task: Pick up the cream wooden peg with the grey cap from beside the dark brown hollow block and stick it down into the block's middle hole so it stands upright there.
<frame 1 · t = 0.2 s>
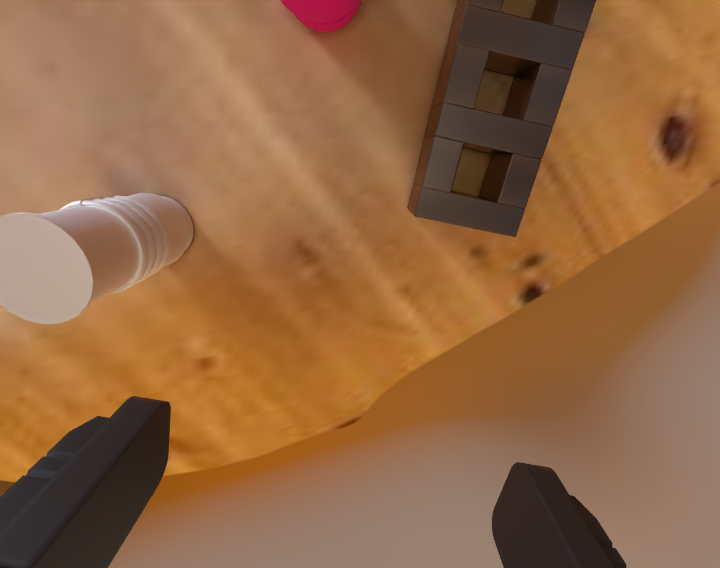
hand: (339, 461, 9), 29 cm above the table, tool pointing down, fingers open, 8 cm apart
dark brown hollow block: (485, 96, 33), on the table
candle: (163, 226, 36), on the table
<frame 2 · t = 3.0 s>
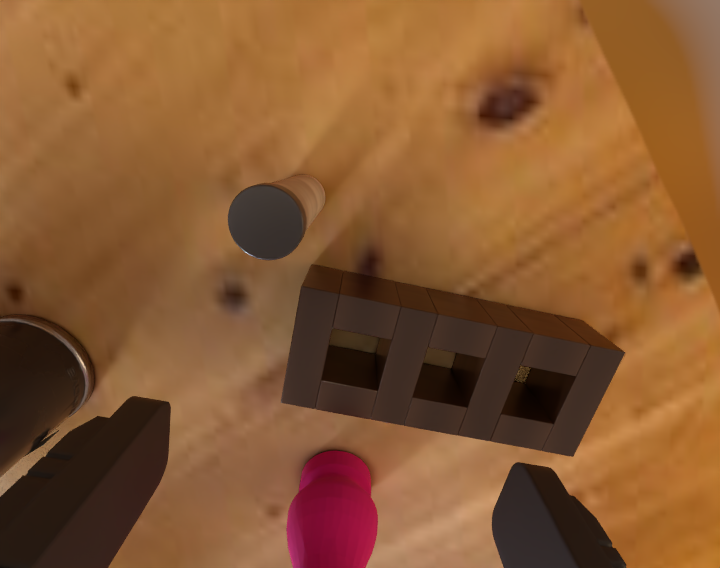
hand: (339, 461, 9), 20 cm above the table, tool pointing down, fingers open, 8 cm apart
dark brown hollow block: (434, 343, 30), on the table
peg: (303, 196, 26), on the table
pepper mill: (336, 475, 34), on the table
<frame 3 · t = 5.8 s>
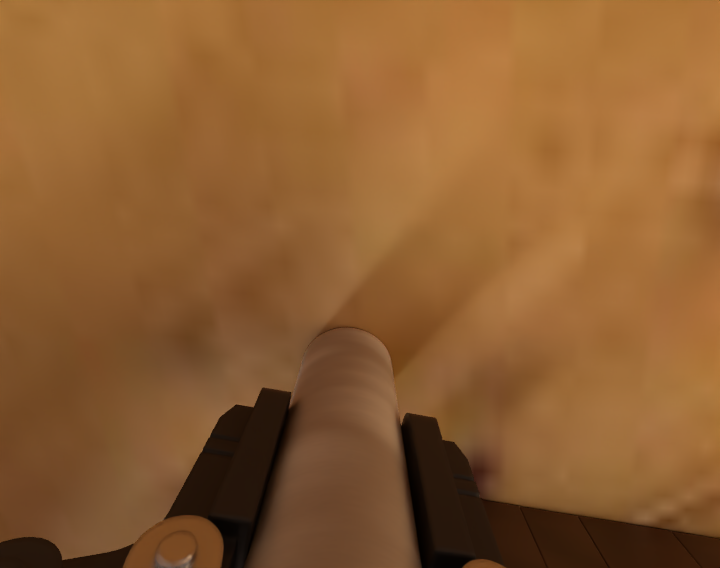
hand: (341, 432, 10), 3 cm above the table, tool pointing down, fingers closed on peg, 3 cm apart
peg: (346, 367, 13), on the table, touching gripper
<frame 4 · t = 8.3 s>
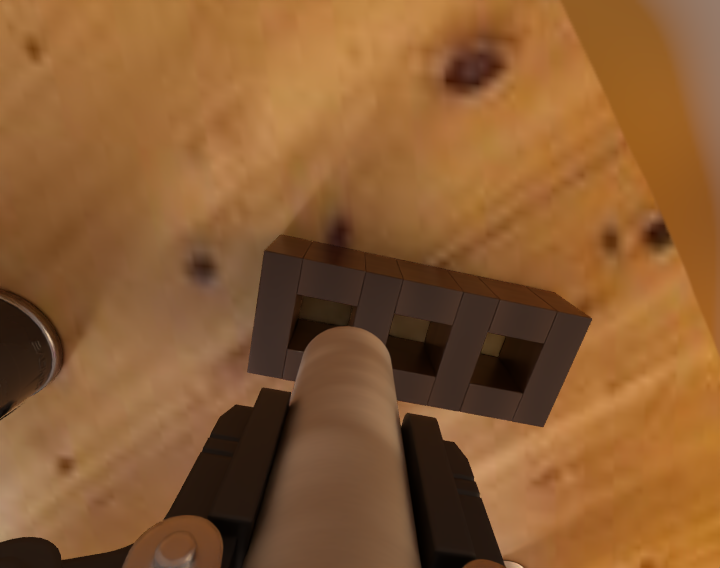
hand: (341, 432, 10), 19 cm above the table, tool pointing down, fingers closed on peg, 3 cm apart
dark brown hollow block: (406, 316, 30), on the table
peg: (346, 366, 13), point 16 cm above the table, touching gripper
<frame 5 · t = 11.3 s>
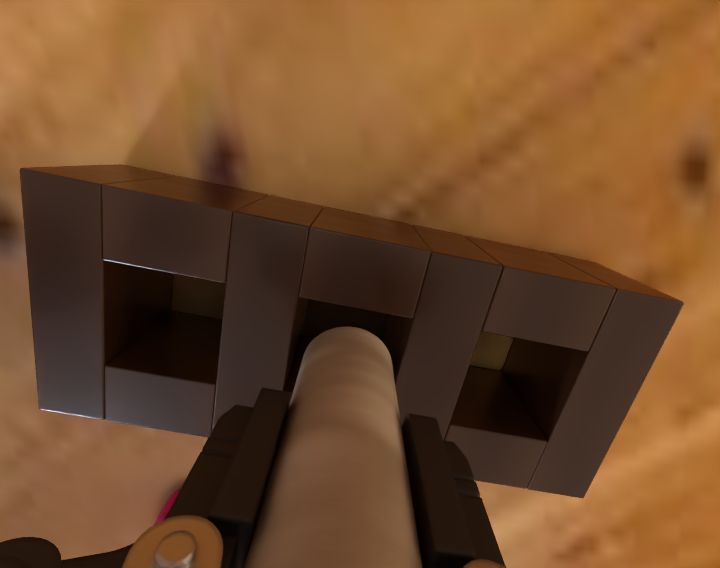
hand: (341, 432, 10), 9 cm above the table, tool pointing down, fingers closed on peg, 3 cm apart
dark brown hollow block: (349, 305, 18), on the table
peg: (347, 366, 13), point 6 cm above the table, touching gripper
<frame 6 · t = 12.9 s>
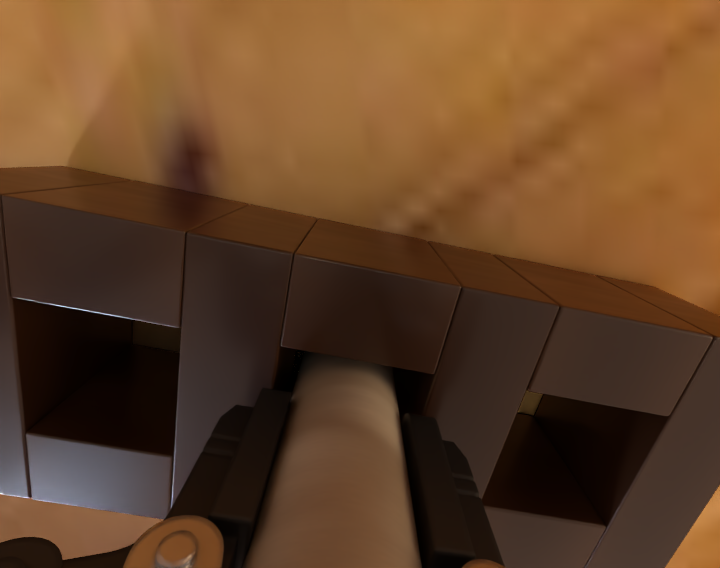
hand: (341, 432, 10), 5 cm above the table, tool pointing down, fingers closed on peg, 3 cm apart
dark brown hollow block: (349, 338, 15), on the table
peg: (346, 366, 13), point 2 cm above the table, touching gripper
when the fingers open (6 cm above the table, at t = 16.9 s): peg drops 3 cm, resting in dark brown hollow block.
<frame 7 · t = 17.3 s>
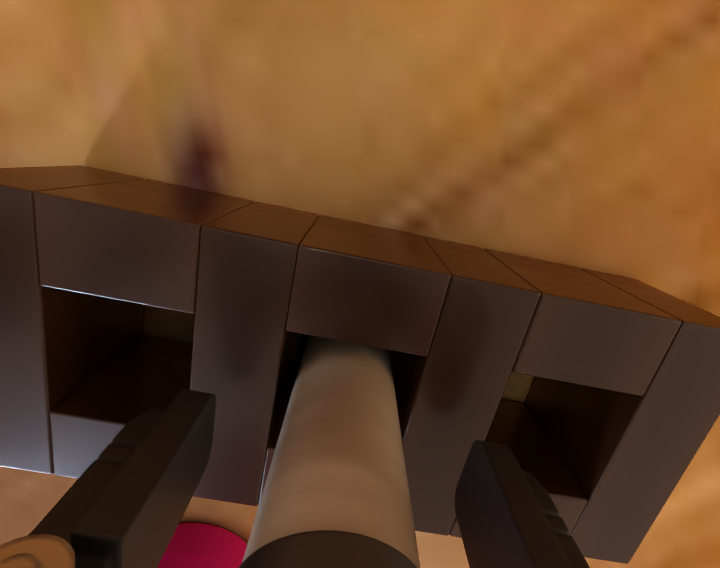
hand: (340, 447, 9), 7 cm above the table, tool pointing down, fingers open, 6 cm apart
dark brown hollow block: (348, 328, 15), on the table
peg: (348, 328, 15), resting in dark brown hollow block
pepper mill: (202, 560, 20), on the table
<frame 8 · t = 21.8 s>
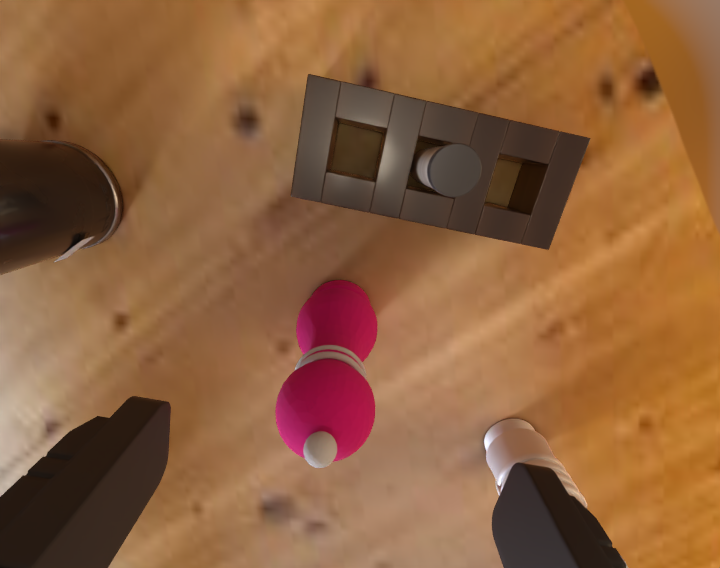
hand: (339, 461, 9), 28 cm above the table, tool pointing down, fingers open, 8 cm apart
dark brown hollow block: (426, 166, 33), on the table
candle: (509, 438, 43), on the table
peg: (426, 166, 33), resting in dark brown hollow block
pepper mill: (339, 308, 38), on the table
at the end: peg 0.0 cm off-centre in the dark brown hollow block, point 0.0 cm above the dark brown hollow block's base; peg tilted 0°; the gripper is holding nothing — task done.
